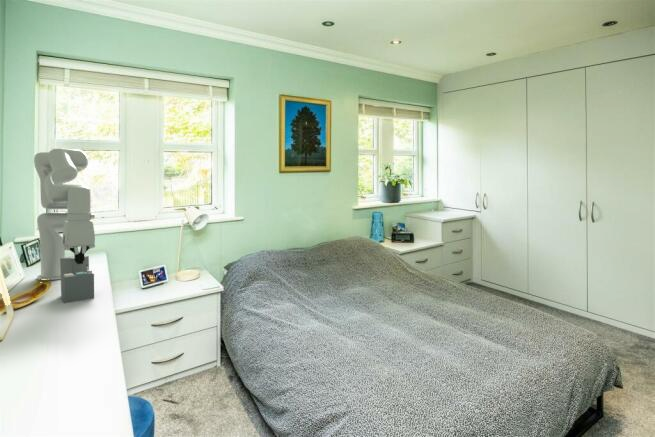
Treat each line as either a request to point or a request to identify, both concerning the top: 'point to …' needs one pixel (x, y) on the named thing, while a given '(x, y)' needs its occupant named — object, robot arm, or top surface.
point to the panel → (77, 287)
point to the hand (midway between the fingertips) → (79, 263)
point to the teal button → (79, 273)
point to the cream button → (68, 275)
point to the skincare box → (73, 265)
